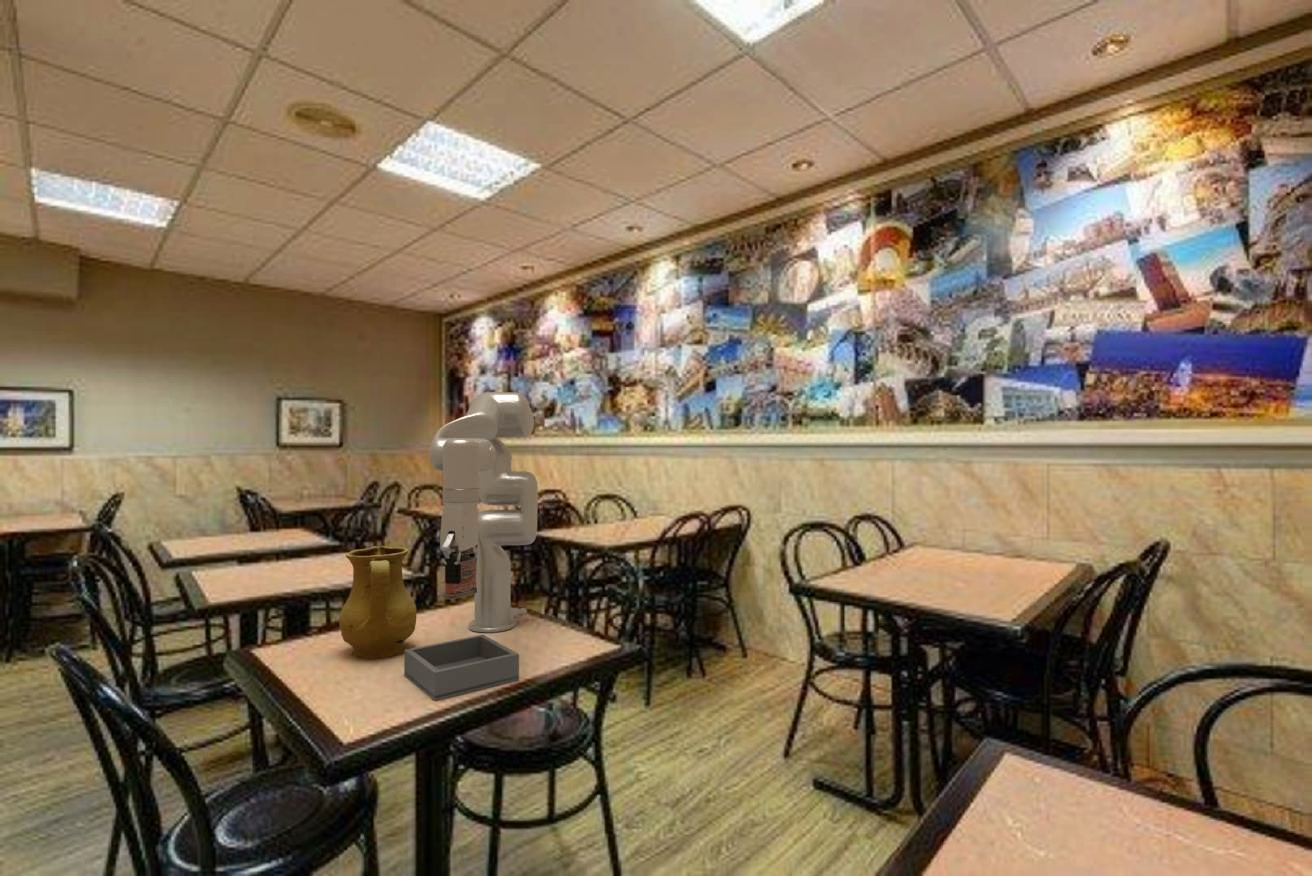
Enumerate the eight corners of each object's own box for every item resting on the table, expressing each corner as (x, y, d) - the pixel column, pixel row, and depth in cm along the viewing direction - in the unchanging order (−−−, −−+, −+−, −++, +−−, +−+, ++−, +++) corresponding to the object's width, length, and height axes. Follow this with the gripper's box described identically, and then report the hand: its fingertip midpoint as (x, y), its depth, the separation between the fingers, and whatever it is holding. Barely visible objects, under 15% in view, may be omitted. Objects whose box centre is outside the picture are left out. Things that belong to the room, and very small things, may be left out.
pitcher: (430, 639, 167) (425, 541, 166) (394, 668, 148) (388, 558, 147) (366, 639, 169) (360, 542, 167) (322, 667, 150) (316, 559, 149)
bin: (483, 658, 153) (483, 634, 154) (518, 680, 139) (519, 654, 139) (404, 675, 142) (404, 649, 142) (434, 701, 128) (434, 672, 128)
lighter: (452, 599, 137) (452, 551, 137) (440, 598, 138) (441, 550, 138) (480, 592, 144) (480, 546, 144) (469, 590, 145) (469, 545, 145)
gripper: (460, 493, 150) (460, 570, 150) (426, 500, 133) (425, 587, 133) (492, 493, 149) (492, 571, 149) (461, 500, 132) (461, 588, 132)
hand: (461, 578), depth 141 cm, fingers closed on lighter, 7 cm apart
